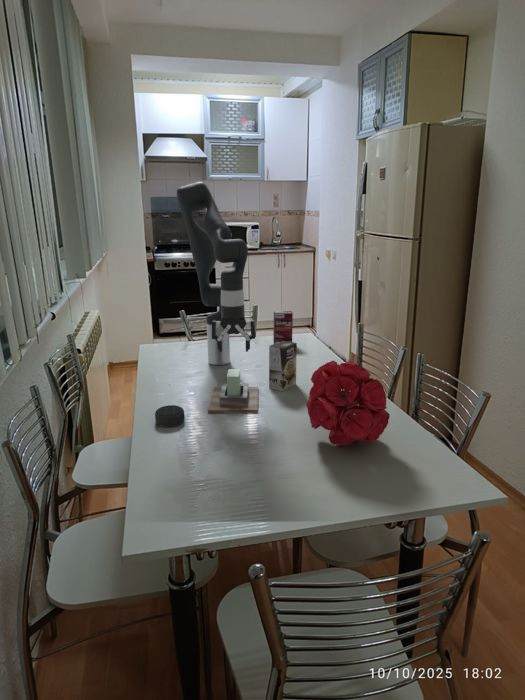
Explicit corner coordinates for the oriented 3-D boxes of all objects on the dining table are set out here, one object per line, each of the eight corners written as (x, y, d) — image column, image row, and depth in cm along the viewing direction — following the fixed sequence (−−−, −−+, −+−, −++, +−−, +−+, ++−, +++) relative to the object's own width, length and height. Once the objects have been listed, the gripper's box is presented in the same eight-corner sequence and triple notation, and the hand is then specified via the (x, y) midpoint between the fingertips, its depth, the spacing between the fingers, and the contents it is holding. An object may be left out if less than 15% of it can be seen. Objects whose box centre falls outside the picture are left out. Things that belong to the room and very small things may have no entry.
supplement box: (274, 346, 222) (274, 313, 218) (273, 343, 227) (273, 311, 222) (292, 345, 223) (293, 312, 218) (291, 343, 228) (291, 310, 223)
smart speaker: (169, 431, 141) (168, 418, 140) (149, 423, 146) (148, 411, 145) (190, 420, 148) (190, 408, 147) (171, 413, 153) (170, 402, 152)
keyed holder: (214, 389, 172) (213, 380, 171) (258, 389, 172) (258, 380, 171) (207, 412, 153) (207, 402, 152) (257, 412, 153) (257, 402, 152)
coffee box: (282, 391, 169) (283, 348, 164) (268, 387, 173) (268, 345, 168) (297, 384, 176) (297, 342, 171) (282, 380, 180) (282, 339, 175)
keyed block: (227, 401, 159) (226, 376, 156) (229, 393, 165) (228, 369, 163) (239, 401, 159) (238, 376, 156) (240, 393, 165) (240, 369, 163)
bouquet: (292, 447, 144) (323, 444, 116) (289, 371, 149) (317, 349, 121) (359, 445, 148) (405, 441, 120) (354, 371, 154) (396, 350, 125)
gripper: (209, 305, 148) (211, 354, 153) (254, 305, 148) (255, 354, 153) (211, 300, 156) (213, 347, 161) (254, 300, 156) (255, 347, 161)
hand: (234, 351), depth 157 cm, fingers open, 8 cm apart
